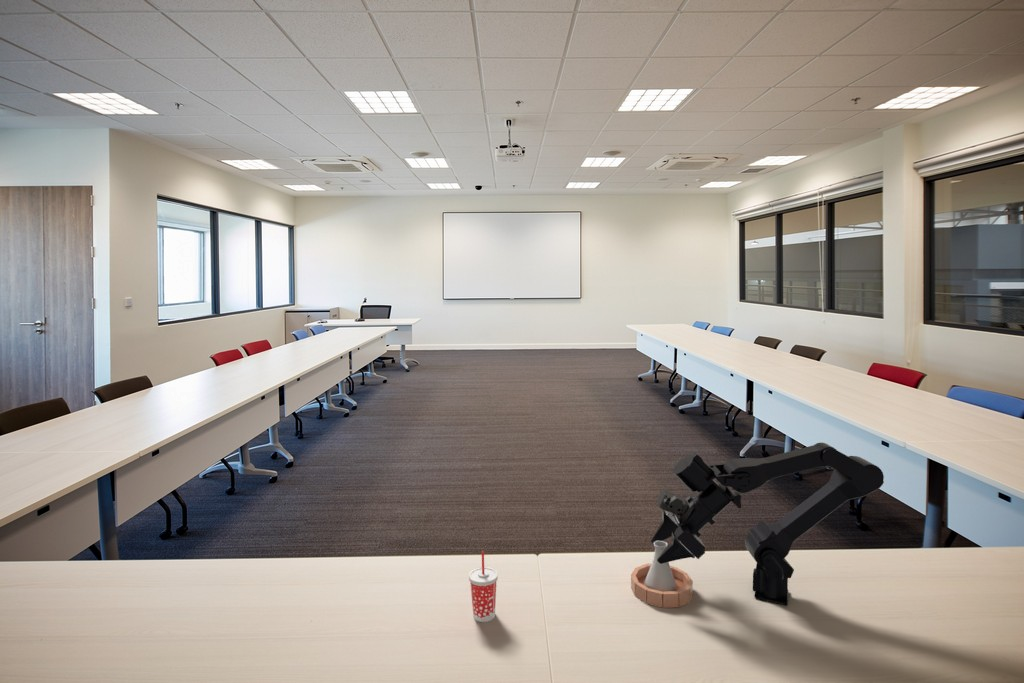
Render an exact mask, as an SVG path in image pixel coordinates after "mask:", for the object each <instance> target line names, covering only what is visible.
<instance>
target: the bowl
mask: <svg viewBox="0 0 1024 683" xmlns="http://www.w3.org/2000/svg"><path fill="white" fill-rule="evenodd" d="M651 564H652V563H646V564H642V565H640V566H637V567H635V568H634V569H633V570H632V573H631V574H630V589H631V591H632V593H633V595H634V597H635V598H637V599H639V600H640V601H642V602H643V603H644V604H647V605H651V606H653V607H654V606H655V607H659V608H664V609H665V608H680V607H682V606H685V605H687V604H689V603H691V600H692V597H693V594H694V593H693V589H694V587H693V583H694V582H693V580H692V578H691V577H690V575H689V574H688V573H687V572H686V571H684V570H683V569H680V568H678V567H675V566H673V565H670V568H671V571H672V574H673V577H674V579H675V582H676V587H677V590H675V591H667V592H662V591H658V590H654V589H649V588H647V587H646V586H645V579H646V577H647V574H648V572H649V570H650V567H651Z"/></svg>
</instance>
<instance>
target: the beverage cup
mask: <svg viewBox="0 0 1024 683" xmlns="http://www.w3.org/2000/svg"><path fill="white" fill-rule="evenodd" d="M498 575H499V572H498V571H497V570H496V569H494V568H492V567H488V566H487V567H485V551H484V550H482V551H481V567H477V568H475V569H472V570H471V571H470V572H469V573H468V580H469V583H470V592H471V594H470V595H471V604H472V606H471V607H472V616H473V619H474V620H475V621H477V622H480V623H487V622H491V621H493V620H494V619H495V617H496V598H497V581H498V577H499V576H498Z"/></svg>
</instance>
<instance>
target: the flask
mask: <svg viewBox="0 0 1024 683" xmlns="http://www.w3.org/2000/svg"><path fill="white" fill-rule="evenodd" d="M668 545H669V544H668V542H666V541H665V540H663V541H655V542H654V544H653V547H654V555H653V559H652V562H651V563H650V564H651V567H650V570H649V572H648V574H647V577H646V579H645V586H646V587H647V588H649V589H654V590H658V591H662V592H667V591H675V590H677V587H676V582H675V579H674V577H673V574H672V571H671V568H670V566H671V565H670V562H666V563H662V564H660V563H659V562H658V561H657V559H658V557H659V556H660V555H661V554H662V552H663V551H664V550H665V549H666V548H667V547H668Z"/></svg>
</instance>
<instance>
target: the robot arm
mask: <svg viewBox="0 0 1024 683" xmlns="http://www.w3.org/2000/svg"><path fill="white" fill-rule="evenodd" d="M824 466H829V467H831V468H833V472H832V474H831V476H830V478H829V481H828V482H827V483H825V484H824V485H823V486H822V487H820V488H819V489H818V490H816V491H815V492H814V493H813V494H812V495H810V496H809V497H807V498H806V499H805V500H803V502H801V503H799V505H797V506H796V507H795V508H793V509H792V510H791V511H790V512H788V513H787V514H785V515H784V516H783V517H782V518H781V519H779V520H778V521H775V522H773V523H767V522H766V521H765V519H761V520H760V521H758V523H757V524H756V525H755V526H753V527H752V528H749V529H748V533H747V534H746V536H745V537H744V538H745V540H744V545H745V549H746V550H747V551H748V553H749V554H750V555H751V556H752V558H753V560H754V561H755V562H756V565H755V566H756V567H755V568H753V572H752V591H753V592H754V598H755V599H757V600H762V601H766V602H770V603H775V604H779V605H782V606H783V605H784V606H788V605H789V589H788V586H789V585H788V583H789V579H791V578H792V576H793V574H794V572H795V569H794V567H793V566H792V565H791V564H790V562H789V561H787V559H786V557H787V556H788V555H789V553H790V551H791V550H792V549H791V548H792V546H793V544H794V542H796V541H797V540H798V539H799V538H800V537H802V536H803V535H804V534H805V533H807V532H808V531H810V530H811V529H812V528H813V527H815V526H816V525H817V524H818V523H819V522H821V521H822V520H824V519H825V518H826V517H828V516H829V515H830V514H831V513H833V512H834V511H836V510H837V509H838V508H840V507H841V506H842V505H844V504H845V503H846V502H847V501H849V500H850V501H851V500H854V499H858V498H863V497H866V496H868V495H870V494H872V493H874V492H876V491H877V490H878V489H880V488H881V487H882V486H883V485H884V482H885V481H884V478H885V476H884V472H883V470H882V469H881V468H880V467H879V466H878V465H876V464H874V463H872V462H870V461H868V460H866V459H865V458H863V457H860V456H859V455H858V456H857V455H849V456H848V455H846V454H844V453H843V452H841V451H839V450H837V449H836V448H835V447H833V446H831V445H829V444H828V443H825V442H817V443H814V444H813V445H810V446H805V447H802V448H798V449H795V450H789V451H786V452H782V453H779V454H775V455H771V456H767V457H759V458H754V457H743V458H742V457H741V458H731V459H729V460H727V461H726V462H725V463H719V464H707V463H706V462H705V461H704V460H703V458H702V457H701V456H700V454H698V452H696V451H694V452H693V453H692V454H690V455H687V456H685V457H684V458H681V459H680V460H679V461H678V462H677V463H676V464H675V466H674V467H673V470H672V473H673V475H674V476H676V477H677V478H678V479H679V480H680V481H681V483H683V484H684V485H685V486H686V487H687V488H688V489H689V491H691V492H694V493H695V492H697V494H696V495H695V496H692V495H688V496H687V497H686V498H684V497H682V496H680V495H679V494H676V493H673V492H672V491H669V490H668V489H665V488H663V489H661V492H660V494H659V496H658V497H657V499H656V502H657V503H658V507H659V508H660V509H661V512H662V514H661V515H662V516H661V518H662V520H661V522H660V524H659V526H658V527H657V529H656V531H655V532H654V534H653V536H652V537H651V539H650V542H651V544H653V545H654V542H655V541H665V540H667V539H670V538H671V542H670V543H669V544H668V547H667V548H666V549H665V550H664V551H663V552H662V554H661V555H660V556H659V557H658V559H657V561H658V562H659V563H660V564H662V563H666V562H669V563H670V562H674V561H678V560H683V559H690V558H692V559H695V558H696V559H698V560H699V559H700V558H702V557H703V555H705V554H706V547H705V544H704V543H703V541H702V539H701V538H700V536H702V533H701V530H702V529H703V528H704V527H706V526H707V525H708V524H710V526H711V525H712V526H713V525H714V524H715V523H716V521H715V520H714V519H715V518H716V517H717V516H718V515H719V514H721V512H723V510H725V509H726V507H728V506H729V505H730V504H731V503H732V504H734V505H735V506H736V508H738V509H741V508H742V502H741V500H742V495H741V494H746V493H750V492H752V491H755V490H756V489H759V488H761V487H763V486H764V485H765V484H766V483H768V482H769V481H772V480H773V479H777V478H781V477H784V476H789V475H794V474H796V473H802V472H805V471H809V470H813V469H817V468H821V467H824ZM714 479H715V480H714ZM716 480H717V481H716ZM718 482H719V483H718ZM729 487H730V488H729ZM731 488H732V489H731ZM733 490H734V491H733ZM740 493H741V494H740Z"/></svg>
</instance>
